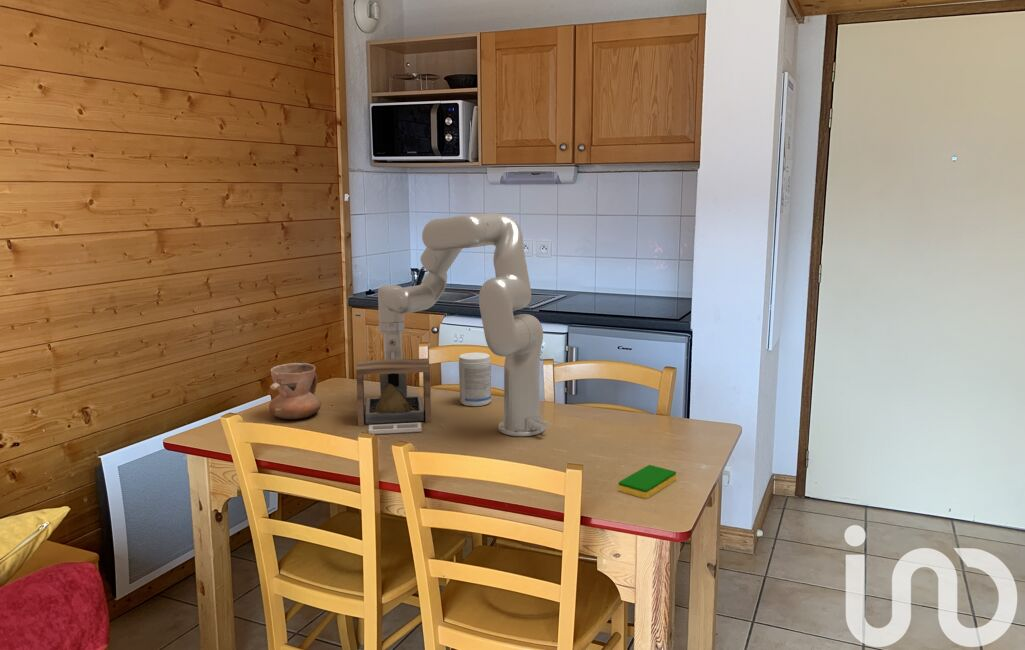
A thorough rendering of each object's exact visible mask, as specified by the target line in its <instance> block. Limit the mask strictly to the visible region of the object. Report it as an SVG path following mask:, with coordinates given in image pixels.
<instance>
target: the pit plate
mask: <svg viewBox="0 0 1025 650" xmlns="http://www.w3.org/2000/svg"><path fill="white" fill-rule="evenodd" d="M422 431H423V430H422V421H419V422H408V423H407V422H399V423H379V424H368V434H369V433H372V434H375V435H374V436H376V435H377V436H381V435H397V434H399V435H400V434H401V435H402V434H418V433H419V434H420V433H422Z"/></svg>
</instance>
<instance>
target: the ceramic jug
mask: <svg viewBox="0 0 1025 650" xmlns="http://www.w3.org/2000/svg"><path fill="white" fill-rule="evenodd" d="M270 375H271V376H270V377H271V378H272V382H273V383H272V384H271V385H270V386H269V387H270V389H271V390H277V391H278V394H277V395H276V396H275V397H273V399H271V401H269V404H268V409H269V412H270V413H271V414H272V416H274V417H276V418H278V419H283V420H298V419H299V420H300V419H305V418H308V417H310V416H312V415H315V414H316V413H317V412H319V410H320V409H321V406H322V401H321V399H320V397H318V396H317V395H316V394H315V393H316V390H317V386H318V376H317V374H316V366H315V365H314V364H311V363H308V362H293V363H285V364H280V365H279V364H278V365H276V366H273V367H271V368H270Z"/></svg>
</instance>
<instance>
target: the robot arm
mask: <svg viewBox="0 0 1025 650" xmlns="http://www.w3.org/2000/svg"><path fill="white" fill-rule="evenodd" d="M421 237H422V239H421V241H422V243H423V244H424V246H425V247H426V248H425V249H424V251H423V252H422V254H421V256H420V263H421V265H422V267H423V269H425V270H426V271H427V272H428V273H427V275H426V277H425V278H424V280H423V281H422V282H421V283H420V284H418V285H412V286H406V287H402V286H400V285H399V284H398V285H396V284H386V285H385V284H384V285H381V286H380V287H379V288H378V290H377V301H378V303H377V304H378V305H377V306H378V330H379V331H378V332H379V333H381V334H382V335H383V351H384V353H383V354H384V360H400V359H403V339H402V337H403V336H402V334H403V333H404V332H405V315H407V314H408V315H409V314H412V313H416V312H420V311H427V310H428V309H430V308H432V307H433V306H435V304H436V303H437V302H438V300H439V299H440V297H442V295H443V293H444V292H445V289H446V287H447V283H448V271H449V269H450V268H451V267H452V265H453V263H454V262H455V261H456V259H457V258H458V256H459V255H460V253H461V252H462V250H463V249H472V248H477V247H480V248H481V247H486V246H494V247H495V249H494V252H493V257H492V258H493V261H492V262H493V267H494V268H493V269H494V273H495V277H491V278H490V279H487V280H486V281H485V282H483V284H482V285H481V288H480V290H479V294H478V304H479V311H480V316H481V321H482V327H483V333H484V339H485V343H486V345H487V347H488V349H489V350H490V351H491V352H492V353H493V354H494V355H495V356H498V357H504V365H503V420H502V421H501V422H499V423H498V427H497V428H498V431H499V432H501V433H502V434H504V435H508V436H510V437H511V436H512V437H513V436H514V437H530V436H531V437H533V436H536V435H539V434H541V433H543V432H544V431H545V430H546V428H547V427H548V426H549V422H547V421H543V419H542V418H543V416H542V414H540V364H541V363H540V361H541V360H540V359H541V352H542V345H543V339H544V330H543V326H542V323H541V322H540V321H539V319H538V318H537V317H535V316H534V315H531V314H529V313H528V314H527V313H520V314H516V315H515V314H514V312H515V311H518V310H522V309H524V308H526V307H527V306H528V305H529V304H530V303H531V299H532V289H531V283H530V278H529V270H528V265H527V261H526V255H525V248H524V247H525V246H524V245H525V244H524V239H523V232H522V230H521V227H520V225H519V224H518V223H517V222H516V221H515V219H514V218H513V217H510V216H509V215H507V214H503V213H497V212H487V213H485V212H484V213H476V214H475V213H474V214H465V215H457V216H453V217H452V216H451V217H446V218H445V217H442V218H435V219H434V218H433V219H431V220H430V221H428V222H427V223H426V224H425V226H424V228H423V229H422V235H421ZM388 383H389V384H392V385H393V386H395V387H398V386H399V373H391V374H388Z"/></svg>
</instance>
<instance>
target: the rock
mask: <svg viewBox="0 0 1025 650" xmlns="http://www.w3.org/2000/svg"><path fill="white" fill-rule="evenodd" d="M379 398H380V399H379V402H378V404H377V405H376V408H374V409H375V411H374V413H381V412H402V411H414V409H413V408H412V406H410V403H409V401H408V400H407V399H406V398H405V396H404V395H403V394H402V393H401V392H400V391H399V390H398V389H397V388H396V387H395V386H393V385H392V384H389V383H387V384H386V386H385V388H384V389H383V392H382V393H381V392H380V396H379Z"/></svg>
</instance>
